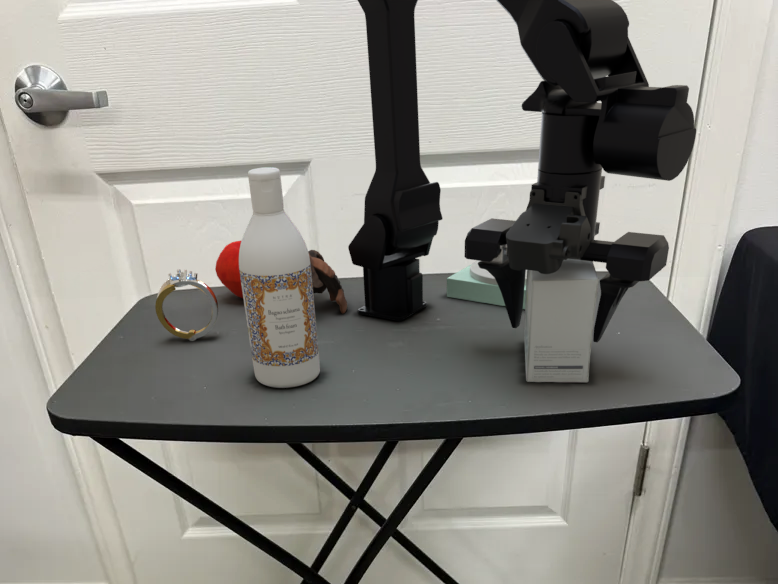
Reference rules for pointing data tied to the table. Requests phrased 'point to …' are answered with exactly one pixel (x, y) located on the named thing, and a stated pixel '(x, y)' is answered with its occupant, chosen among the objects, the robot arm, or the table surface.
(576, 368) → the cosmetics box
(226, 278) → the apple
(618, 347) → the table surface
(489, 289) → the scale
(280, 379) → the bath foam
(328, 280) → the brown curved piece
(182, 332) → the ring
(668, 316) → the table surface
